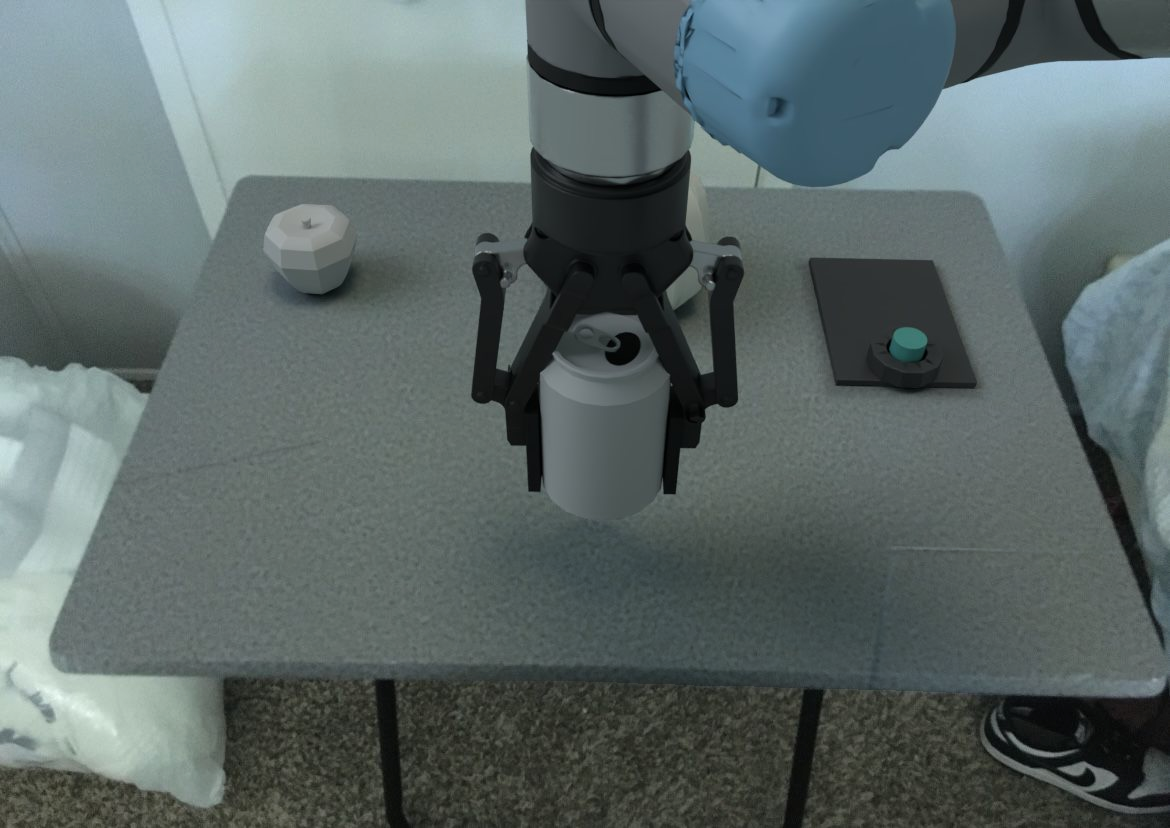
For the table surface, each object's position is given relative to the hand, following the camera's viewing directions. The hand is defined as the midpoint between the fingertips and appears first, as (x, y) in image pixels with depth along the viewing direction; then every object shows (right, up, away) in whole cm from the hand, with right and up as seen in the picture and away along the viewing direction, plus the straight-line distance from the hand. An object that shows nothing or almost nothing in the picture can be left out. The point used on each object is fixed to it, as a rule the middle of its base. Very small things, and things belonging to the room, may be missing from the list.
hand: (602, 476), depth 64 cm
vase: (+2, +14, +26) cm, 30 cm away
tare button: (+24, +9, +18) cm, 31 cm away
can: (0, -1, +1) cm, 1 cm away
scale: (+24, +12, +23) cm, 36 cm away
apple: (-24, +15, +26) cm, 39 cm away
